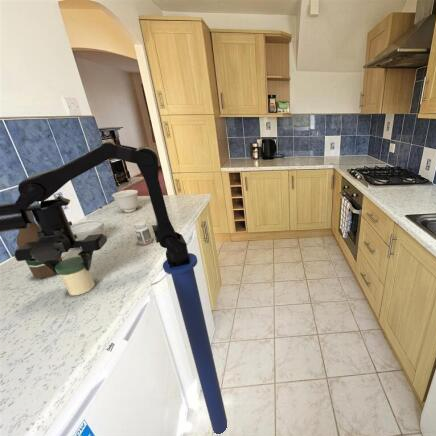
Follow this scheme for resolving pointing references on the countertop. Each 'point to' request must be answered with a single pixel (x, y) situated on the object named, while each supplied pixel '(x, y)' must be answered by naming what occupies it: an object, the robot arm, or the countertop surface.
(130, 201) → the teacup
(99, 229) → the ramekin
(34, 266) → the beer bottle
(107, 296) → the countertop surface
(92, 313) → the countertop surface
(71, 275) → the jam jar
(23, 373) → the countertop surface
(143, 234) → the pill bottle
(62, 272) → the jar lid
